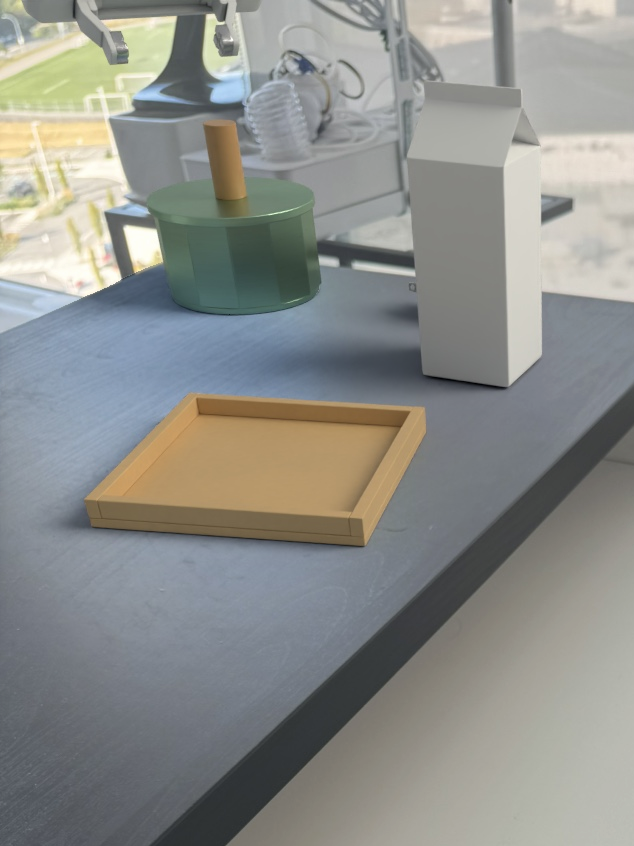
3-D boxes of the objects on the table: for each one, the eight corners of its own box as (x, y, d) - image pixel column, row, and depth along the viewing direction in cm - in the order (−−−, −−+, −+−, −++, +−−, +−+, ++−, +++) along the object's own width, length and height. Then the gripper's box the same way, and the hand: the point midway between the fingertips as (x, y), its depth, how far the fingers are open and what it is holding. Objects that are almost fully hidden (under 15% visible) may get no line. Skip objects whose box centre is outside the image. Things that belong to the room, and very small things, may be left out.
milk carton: (509, 390, 87) (501, 97, 75) (422, 377, 88) (401, 88, 76) (542, 358, 92) (540, 80, 80) (459, 346, 94) (445, 72, 81)
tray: (91, 527, 69) (83, 499, 68) (194, 417, 82) (189, 392, 81) (365, 546, 68) (362, 518, 67) (426, 432, 81) (424, 406, 79)
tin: (148, 310, 99) (128, 221, 94) (202, 266, 109) (187, 183, 104) (295, 318, 98) (282, 229, 94) (336, 273, 108) (327, 190, 103)
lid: (122, 230, 94) (101, 136, 90) (185, 189, 105) (169, 103, 101) (288, 239, 93) (275, 144, 89) (335, 196, 104) (325, 110, 100)
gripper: (-22, -132, 90) (48, 35, 90) (232, -131, 99) (296, 20, 99) (-18, -65, 96) (48, 92, 96) (223, -70, 105) (282, 73, 105)
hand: (176, 55), depth 97 cm, fingers open, 8 cm apart
